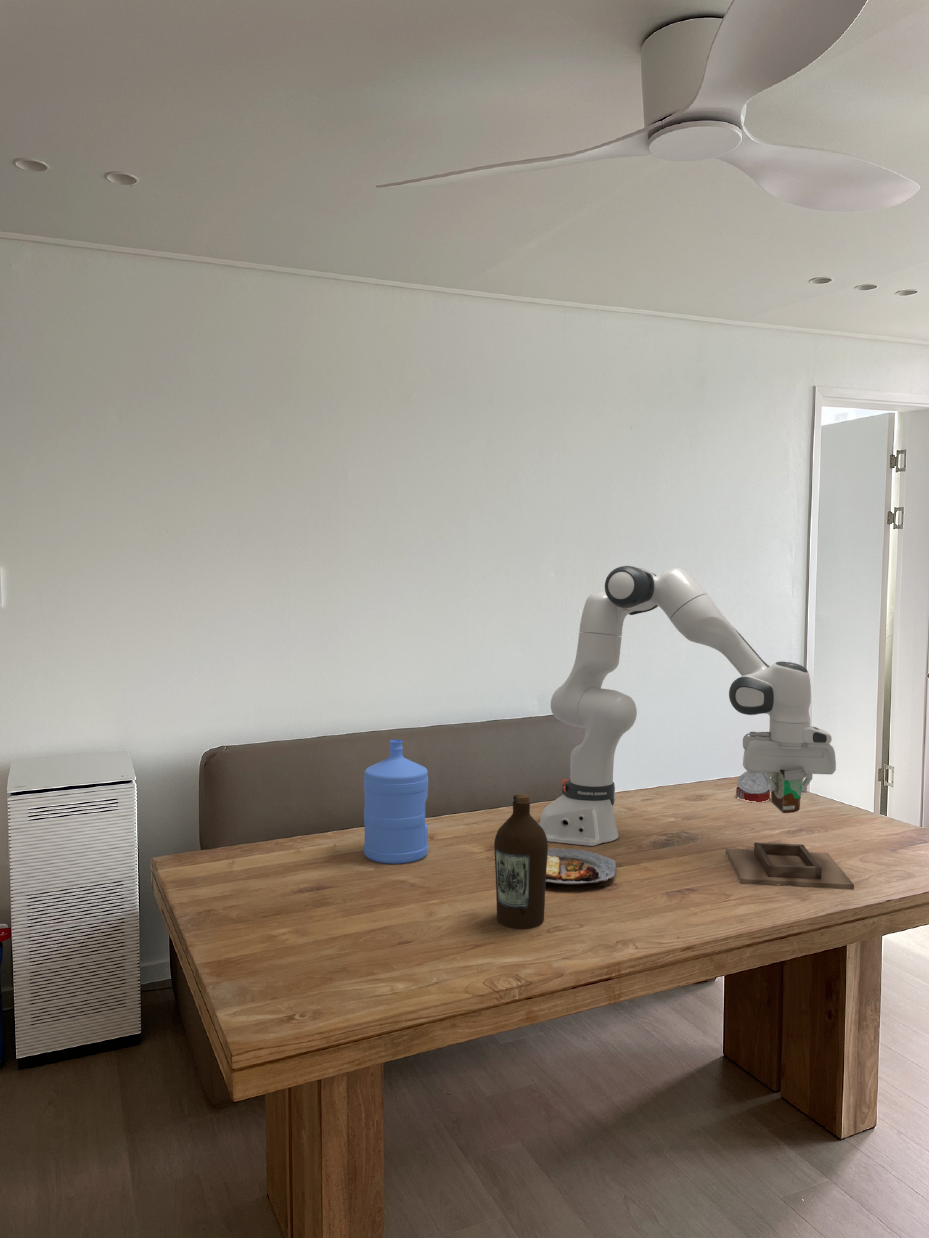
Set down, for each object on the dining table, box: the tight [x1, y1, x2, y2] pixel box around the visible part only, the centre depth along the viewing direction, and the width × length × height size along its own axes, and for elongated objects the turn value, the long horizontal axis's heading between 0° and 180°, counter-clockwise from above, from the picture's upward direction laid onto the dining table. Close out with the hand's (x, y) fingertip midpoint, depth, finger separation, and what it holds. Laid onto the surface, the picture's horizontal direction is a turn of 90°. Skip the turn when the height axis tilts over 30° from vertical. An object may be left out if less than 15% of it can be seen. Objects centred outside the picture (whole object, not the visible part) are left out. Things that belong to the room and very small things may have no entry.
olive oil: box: [493, 793, 549, 929], centre depth 178 cm, size 11×11×25 cm
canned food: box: [735, 770, 771, 802], centre depth 273 cm, size 11×10×10 cm
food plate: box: [546, 847, 617, 886], centre depth 206 cm, size 25×23×4 cm
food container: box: [770, 768, 806, 814], centre depth 208 cm, size 12×6×10 cm, turn 176°
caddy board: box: [725, 841, 855, 890], centre depth 209 cm, size 24×22×4 cm
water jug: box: [363, 739, 429, 865], centre depth 218 cm, size 16×16×28 cm
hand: (788, 791), depth 208 cm, fingers closed on food container, 5 cm apart
